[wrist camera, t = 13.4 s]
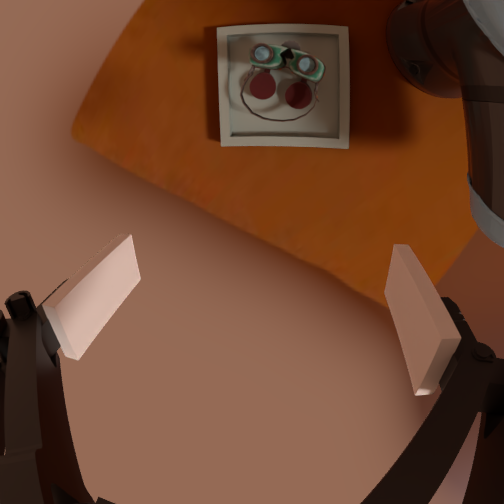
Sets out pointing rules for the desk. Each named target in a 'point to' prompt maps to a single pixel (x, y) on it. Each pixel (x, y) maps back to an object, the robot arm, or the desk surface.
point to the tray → (284, 88)
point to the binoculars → (274, 60)
